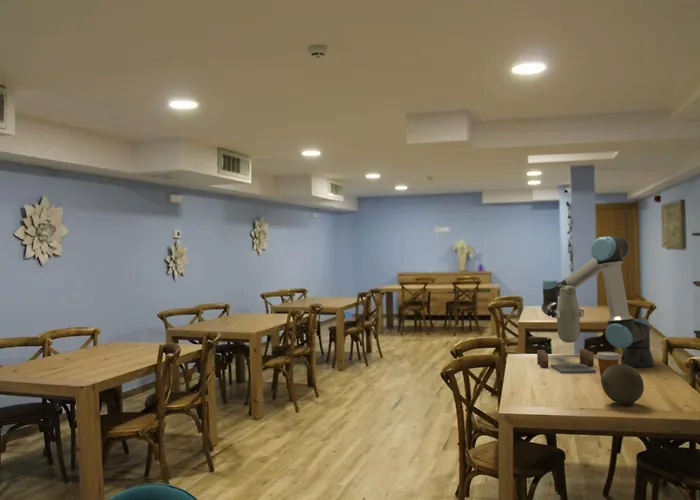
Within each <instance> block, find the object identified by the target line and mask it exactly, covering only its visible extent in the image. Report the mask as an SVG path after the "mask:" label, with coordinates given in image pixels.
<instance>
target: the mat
mask: <svg viewBox="0 0 700 500" xmlns="http://www.w3.org/2000/svg"><path fill="white" fill-rule="evenodd" d="M550 367H551V368H552V369H553V370H554V371H556V372H559V373H560V374H562V375H563V374H596V373H597V370H596V369H594V368H593V367H588V366H586V365H585V364H580V363H565V364H564V363H561V364H560V363H555V364H550Z"/></svg>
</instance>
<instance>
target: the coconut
mask: <svg viewBox="0 0 700 500" xmlns="http://www.w3.org/2000/svg"><path fill="white" fill-rule="evenodd" d="M600 381H601V382H600V383H601V387H602V389H603V391H604V394H605V395H606V396H607V397H608V398H609V399H610V400H611V401H613V402H615V403H617V404H619V405H624V406H625V405H631V404H634V403H636V402H637V401H638V400H639V399H640V398H641V397H642V395H643V394H644V389H645V384H644V380H643V377H642V376H641V374H640V373H639V371H638V370H637V369H635V367H631V366H629V365H626V364H621V363H618V364H617V365H611V366H609V367H608V368H607V369H606V370H605V371H604V372H603V374H602V377H601V376H600Z"/></svg>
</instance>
